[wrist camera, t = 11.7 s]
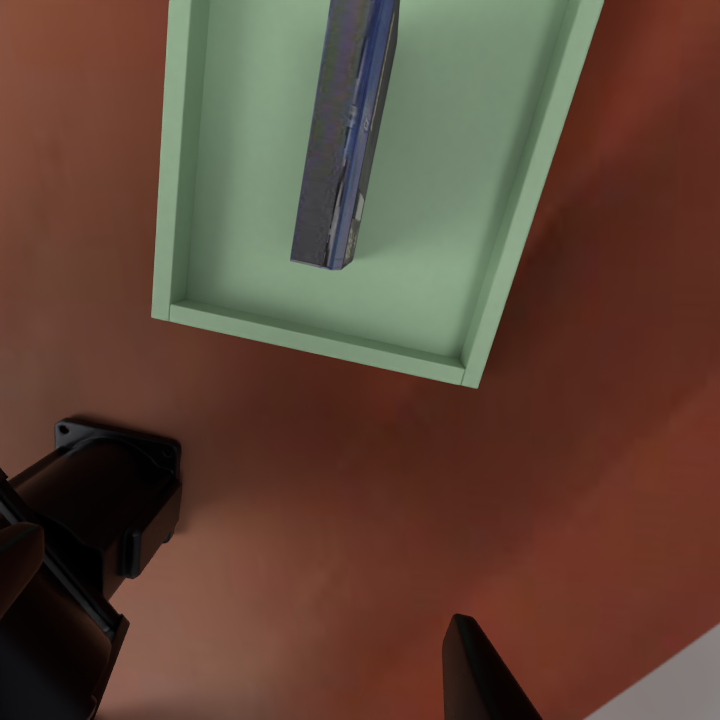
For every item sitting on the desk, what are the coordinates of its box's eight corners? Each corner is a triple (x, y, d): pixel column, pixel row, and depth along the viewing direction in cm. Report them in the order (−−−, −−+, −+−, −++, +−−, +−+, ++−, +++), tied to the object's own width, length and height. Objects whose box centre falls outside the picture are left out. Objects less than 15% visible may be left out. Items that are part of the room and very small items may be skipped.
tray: (173, 309, 19) (150, 317, 17) (206, -141, 14) (179, -198, 12) (468, 374, 20) (478, 389, 18) (601, -46, 15) (634, -89, 13)
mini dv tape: (352, 260, 18) (339, 272, 12) (319, 253, 18) (289, 261, 12) (396, 43, 15) (406, -72, 10) (358, 34, 15) (344, -87, 10)
